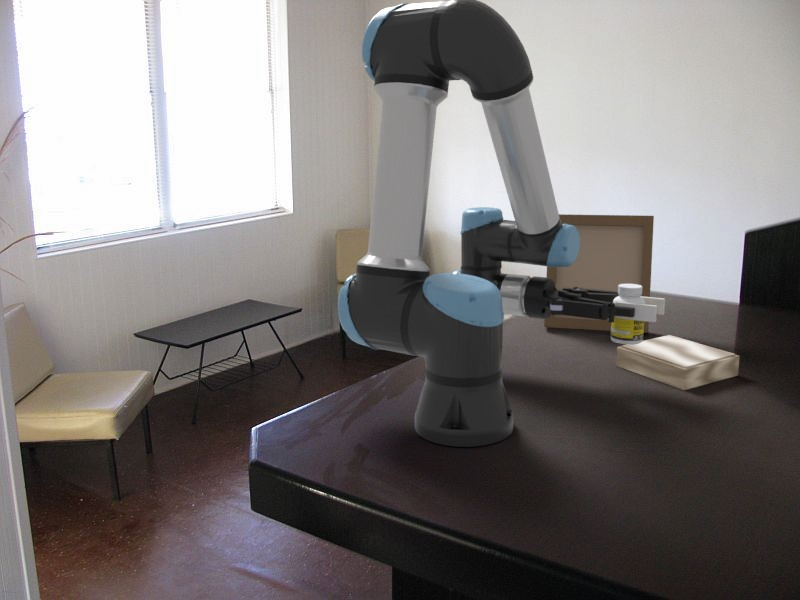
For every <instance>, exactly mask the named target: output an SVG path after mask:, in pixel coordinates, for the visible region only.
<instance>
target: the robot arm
mask: <svg viewBox="0 0 800 600" xmlns="http://www.w3.org/2000/svg"><path fill="white" fill-rule="evenodd" d="M361 44H362V45H361V57H362V62H363V63H365V66H364V70H365V72H366V74H367V76H368V77H369V78H370V79H371V80H373V81H374V83H373V84H374V86H373V87H374V88H373V90H374V91H375V93H376V94H377V95H378V96H379V98H380V99H381V101H382V103H381V112H380V122H379V134H378V144H377V145H378V146H377V156H376V164H375V175H374V185H373V196H372V197H373V198H372V205H371V206H372V207H371V215H370V216H371V218H370V226H369V227H370V228H369V237H368V247H367V253H366V254H365V255H364V256H363V257H362V258H361V259H360V260H358V261H357V264H356V270H355V271H356V272H355V273H353V274H351V275H350V276H348V277H347V278H346V279H345V281H344V283H343V286H342V285H341V287H340V290H339V293H338V298H337V312H338V319H339V323H340V325H341V328H342V330H343V331H344V332H345V333H346V335H347V337H348V338H349V339H350V340H351V341H353V342H355V344H358V345H362V346H365V347H368V348H371V349H372V350H378V351H379V350H385V351H389V352H393V353H398V354H404V355H410V356H414V357H415V356H416V357H421V358H424V363H425V364H424V367H425V368H424V370H425V371H424V372H425V377H424V384H423V386H422V390H421V393H420V396H419V400H418V402H417V407H416V408H415V412H414V430H415V432H416V434H417V435H418V436H419V437H421V439H424V440H426V441H427V442H428V441H429V442H432V443H434V444H438V445H442V446H448V447H449V446H450V447H461V448H462V447H463V448H471V447H472V448H473V447H481V446H487V445H492V444H495V443H499V442H501V441H504V440H505V439H507V438H508V437H509V436H510V435H511V434H512V433H513V430H514V415H513V414H514V413H513V410H512V407H511V404H510V402H509V401H510V400H509V398H508V395H507V393H506V392H507V391H506V388H505V386H504V383H503V382H504V381H503V339H504V338H503V334H504V333H503V332H504V330H503V329H504V327H503V326H504V318H505V315H511V318H512V319H517V316H518V317H529V318H533V319H539V320H541V319H542V320H545V319H547V318H549V317H550V316H551V314H552V315H567V316H576V317H584V318H592V319H600V320H607V319H608V318H609V322H611V323H612V322H614V316H616V318H620V319H629V320H638V321H647V322H649V323H656V322H657V315H660V316H661V315H663V316H664V315H665V306H666V305H665V304H666V298H663V297H652V296H650V297H644V296H640V297H641V298H642V299H644V301H645V304H637V303H627V302H616V306H615V303H613V300H614V298H616V297H618V296H619V294H618V292H617V291H606V290H595V289H585V288H579V287H573V289H572V288H563V290H557V289H556V287H555V283H554V281H553V280H552V279H551V278H546V277H547V276H546V277H543V276H534V275H533V276H532V277H531V276H530V275H525V274H524V275H523V274H514V273H513V274H512V273H504V272H503V273H502V267H503V265H502V262H504V263H505V262H506V263H516V264H524V265H525V264H526V265H532V266H533V265H535V266H541V267H546V268H547V267H568V266H571V265H572V264H573V263H574V262H575V259H576V258H577V256H578V253H579V248H580V235H579V232H578V230H577V229H576V227H575V226H573V225H568V224H565V223H564V224H562V223H561V220H560V217H559V214H560V213H559V210H558V205H557V201H556V197H555V194H554V189H553V184H552V180H551V177H550V176H551V175H550V171H549V168H548V164H547V160H546V155H545V151H544V146H543V142H542V138H541V134H540V130H539V126H538V122H537V121H538V120H537V117H536V112H535V108H534V105H533V100H532V96H531V92H530V86H532V83H534V73H533V70H532V65H531V61H530V58H529V55H528V54H527V52H526V49H525V46H524V44H523V43H522V41H521V39H520V37H519V35H518V34H517V33H516V32H515V30H514V29H513V27H512V26H511V25H510V24H509V22H508V21H507V20H506V19H505V18H504V17H503V16H502V15H501V14H500V13H499V12H498V11H497V10H495V9H494V7H493V8H492V6H489V5H488V4H486V3H485V2H482V1H480V0H435V1H426V2H425V1H423V2H416V3H408V2H406V3H401V4H398V5H396V6H390V7H385V8H383V9H381V10H379V11H378V12H377V14H375V15H374V16H373V17H372V19H371V20H370V21H369V23H368V25H367V26H366V29H365V32H364V34H363V38H362V43H361ZM461 80H462V81H464V82H466V84H467V85H468V86H469V90H470V93H471V95H472V98H473V99H474V100H475V101H477V102H479V103H481V106H482V109H483V114H484V117H485V120H486V124H487V126H488V132H489V134H490V138H491V141H492V144H493V148H494V153H495V155H496V158H497V163H498V165H499V169H500V172H501V178H502V179H503V183H504V187H505V189H506V193H507V197H508V201H509V205H510V207H511V211H512V215H513V217H514V220H509V219H508V220H507V219H504V217H503V211H502V209H500V208H497V207H496V208H495V207H489V206H488V207H487V206H486V207H485V206H484V207H483V206H482V207H481V206H479V207H470V208H466V209H465V210H464V211H463V212H462V217H461V229H460V235H461V240H460V243H461V244H460V245H461V246H460V247H461V249H460V253H461V257H460V258H461V266H460V269H456V270H454V271H453V272H440V273H434V274H431V275H430V270H431V269H430V268H429V267H428V266H427V265H428V264H426V263H425V262H424V260H423V258H422V256H423V246H424V237H425V226H426V215H427V206H428V198H429V197H428V196H429V190H430V189H429V188H430V187H429V186H430V178H431V167H432V166H431V165H432V159H433V147H434V137H435V128H436V120H437V119H436V117H437V109H438V106H439V105H440V104H441V103H443V101H445V100H446V99H447V98H448V95H449V85H450V81H461Z"/></svg>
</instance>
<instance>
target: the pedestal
mask: <svg viewBox="0 0 800 600" xmlns="http://www.w3.org/2000/svg"><path fill="white" fill-rule="evenodd" d="M615 359H616V362H615V366H616V367H618V368H621V369H624V370H627V371H629V372H632V373H635V374H638V375H641V376H644V377H646V378H649V379H651V380H655V381H657V382H660V383H663V384H666V385H668V386H671V387H673V388H677V389H679V390H682V391H687V390H691V389H694V388H698V387H701V386H704V385H708V384H712V383H715V382H719V381H723V380H726V379H730V378H734V377H737V376H739V367H740V355H739V354H738V355H737V354H736V353H734V352H730V351H726V350H723V349H719V348H716V347H712V346H709V345H706V344H701V343H700V342H696V341H692V340H688V339H685V338H682V337H678V336H674V335H673V334H668V335H662V336H659V337H654V338H650V339H645V340H644V339H643V341H642V342H641V343H639V344H634V345H628V344H622V345H620V346H617V347H616V358H615Z"/></svg>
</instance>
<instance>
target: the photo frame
mask: <svg viewBox="0 0 800 600" xmlns="http://www.w3.org/2000/svg"><path fill="white" fill-rule="evenodd" d="M559 217H560V220H561V223H562V224H564V223H565V224H568V225H573V226H575V227H576V229H577V230H578V232H579V235H580V248H579V253H578V256H577V258H576V259H575V262H574V263H573V264H572V265H571V266H568V267H547V266H546V278H551V279H552V280H553V281H554V283H555V287H556V289H557V290H563V288H572V289H573V287H579V288H585V289H595V290H606V291H617V292H618V285H619V284H637V285H641V286H642V295H640V296H644V297H651V285H652V284H651V282H652V264H653V263H652V259H653V242H654V241H653V237H654V221H655V220H654V219H655V216H654V215H633V214H632V215H628V214H627V215H626V214H625V215H624V214H623V215H622V214H621V215H620V214H619V215H617V214H616V215H615V214H561V213H559ZM543 321H544V323H543V324H544V325H543V327H544V328H555V329H573V330H574V329H577V330H592V331H610V332H611V324H612V323H611V322H609V318H608V319H607V320H600V319H592V318H584V317H576V316H567V315H552V314H551V316H550V317H549V318H547V319H543ZM649 323H650V322H647V321H644V332H643V333H645V334H646V333H649V329H650V328H649V327H650V324H649Z"/></svg>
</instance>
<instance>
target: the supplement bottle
mask: <svg viewBox="0 0 800 600" xmlns="http://www.w3.org/2000/svg"><path fill="white" fill-rule="evenodd" d="M618 294H619V296H618V297H616V298H614V300H613V303H615V306H616V302H627V303H637V304H645V301H644V299H642V298H641V297H640V295H642V286H641V285H637V284H619V285H618ZM644 333H645V332H644V321H638V320H629V319H620V318H616V316H614V322H612V324H611V331H610V339H611V342H613V343H617V344H620V345H621V344H622V345H627V344H628V345H634V344H639V343H641V342H642V341H644Z"/></svg>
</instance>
